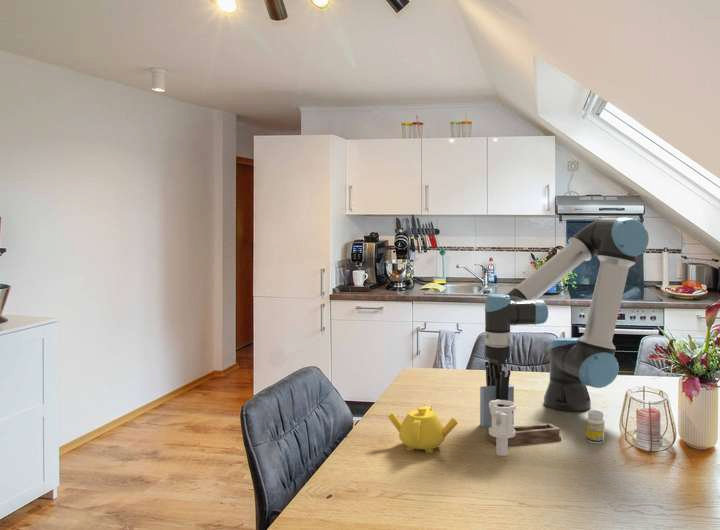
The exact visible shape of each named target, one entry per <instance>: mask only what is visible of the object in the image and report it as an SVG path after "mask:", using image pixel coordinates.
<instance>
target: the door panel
mask: <svg viewBox="0 0 720 530" xmlns="http://www.w3.org/2000/svg"><path fill="white" fill-rule="evenodd" d="M479 392H480V393H479V396H480V397H479V399H480V400H479V401H480V402H479V403H480V405H479V409H480V410H479V417H480V418H479V425H480V426H481V427H482V428H490V427H492V414H490V408H489V402H490V401H492V400H495V399H496V386H486V385H484V386H480V388H479ZM514 395H515V387H514V385H512V384H509V390H508V401H511V402H514V403H515V400H514V399H515V398H514V397H515V396H514ZM504 407H511V406H510V405H504ZM514 412H515V410H513V411H512V413H513V425H514V421H515V420H514V418H515V417H514V416H515V414H514Z"/></svg>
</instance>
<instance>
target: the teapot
mask: <svg viewBox="0 0 720 530" xmlns="http://www.w3.org/2000/svg"><path fill="white" fill-rule="evenodd" d="M387 418H388V419H389V421H390V422H391V423H392V425H393V426H394V427H395V429H396V430H397V431H398V433H399V434H398V436H399V440H400V441H401V442H402V443H403V444H404V446H406V448H405V449H406V450H407V451H410V452H412V451H415V450H416V449H417V450H424V451H425V453H427V454H432V453H434V449H435V448H438V447H439V446H441V445H442V443H443V442H444V441H445V438H446V436H447V435H449V434H450V432H451V431H452V430H453V429H454V428H455V427H456V426H457V425H458V421H457V420H456V419H455V418H453V417H452V418H451V419H450V420H449V421H448V422H447V423H446V424H445V426H443V423H442V422H441V420H440V418H439V417H438V415H437V414H436V413H435V412H434V411H433V410H432V406H429V405H425V406H420V407H417V409H413V410H411V411H410V412H408V413H407V414H406V416H405V417H404V419H403V421H402V422H401V421H400V419H399V418H398V417H397V415H396V414H395V412H392V413H390V415H388V416H387Z"/></svg>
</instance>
